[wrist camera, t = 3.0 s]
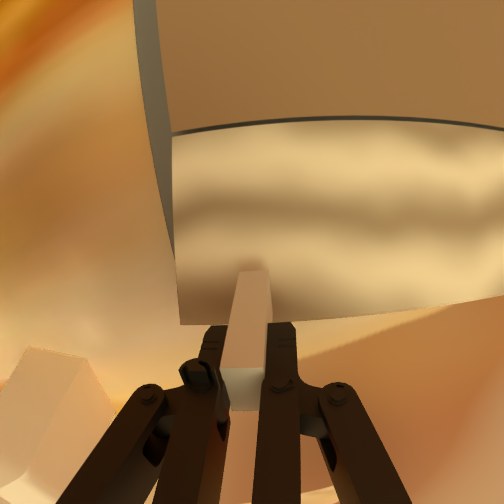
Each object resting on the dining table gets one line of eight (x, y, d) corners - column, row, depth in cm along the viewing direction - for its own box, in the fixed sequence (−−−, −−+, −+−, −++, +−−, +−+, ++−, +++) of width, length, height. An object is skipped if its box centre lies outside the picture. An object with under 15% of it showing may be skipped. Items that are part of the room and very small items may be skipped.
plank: (181, 146, 21) (171, 137, 19) (530, 145, 17) (542, 139, 15) (190, 318, 21) (180, 325, 19) (546, 280, 17) (560, 282, 15)
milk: (116, 410, 40) (64, 550, 17) (61, 396, 41) (4, 514, 18) (86, 357, 35) (4, 523, 11) (29, 345, 36) (-52, 476, 12)
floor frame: (136, -19, 16) (120, -30, 13) (522, 4, 12) (540, 1, 9) (192, 309, 29) (184, 330, 26) (512, 279, 25) (525, 294, 22)
